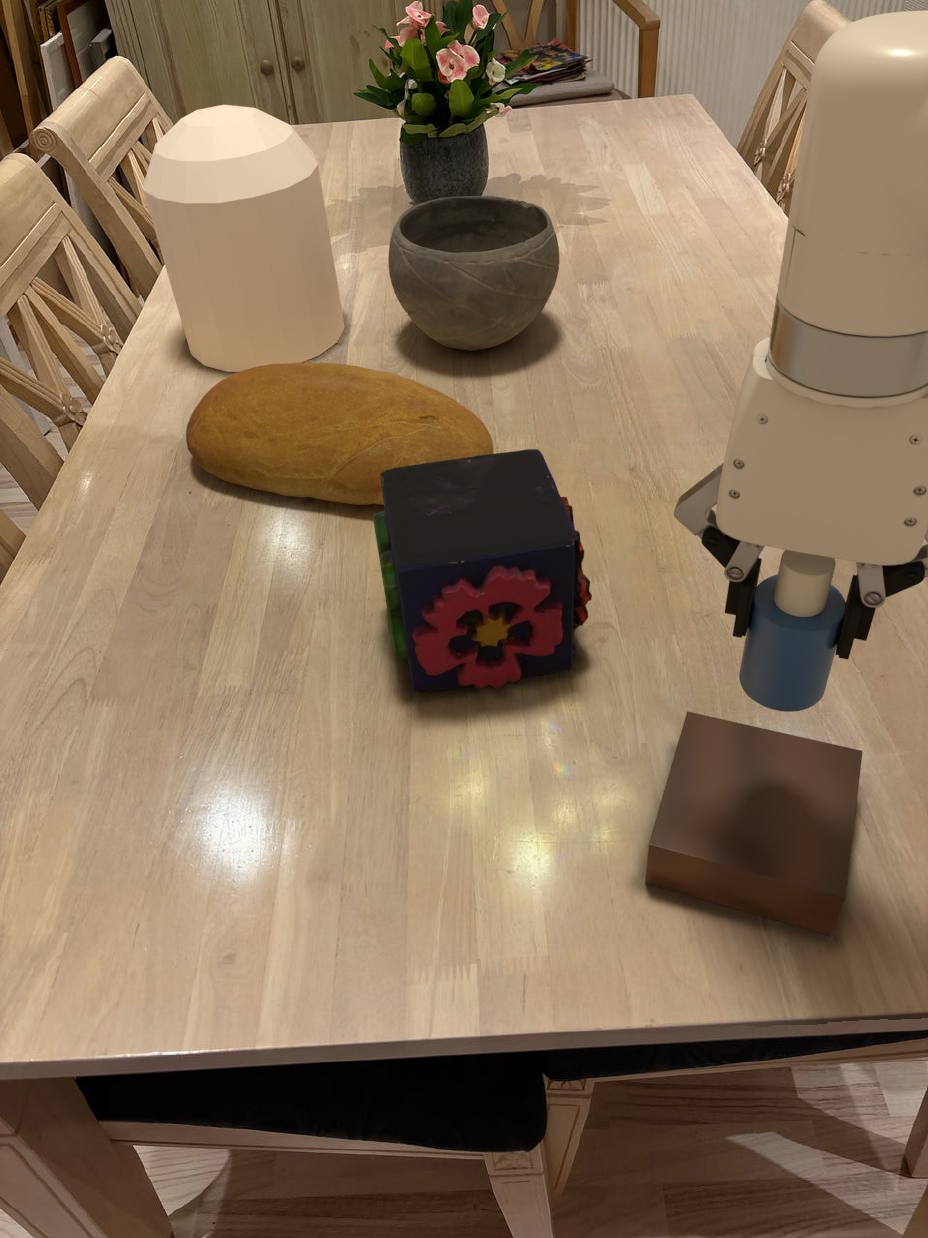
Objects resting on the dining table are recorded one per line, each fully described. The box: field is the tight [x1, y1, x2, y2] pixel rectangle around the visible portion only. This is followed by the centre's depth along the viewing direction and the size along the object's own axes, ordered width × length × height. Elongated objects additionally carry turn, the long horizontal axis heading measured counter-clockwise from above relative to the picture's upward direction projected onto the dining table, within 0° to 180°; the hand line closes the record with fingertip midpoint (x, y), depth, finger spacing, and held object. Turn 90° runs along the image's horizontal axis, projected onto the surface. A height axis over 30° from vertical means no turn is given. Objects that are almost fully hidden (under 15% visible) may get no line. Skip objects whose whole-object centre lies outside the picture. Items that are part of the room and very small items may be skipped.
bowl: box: [387, 195, 560, 352], centre depth 120 cm, size 21×21×15 cm
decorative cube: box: [372, 448, 593, 693], centre depth 80 cm, size 16×16×14 cm
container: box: [143, 104, 346, 373], centre depth 121 cm, size 21×21×28 cm
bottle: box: [738, 550, 846, 713], centre depth 55 cm, size 5×5×10 cm
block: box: [644, 711, 863, 937], centre depth 66 cm, size 12×12×4 cm
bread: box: [185, 361, 494, 506], centre depth 103 cm, size 18×35×10 cm, turn 70°
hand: (793, 629), depth 56 cm, fingers closed on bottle, 5 cm apart
